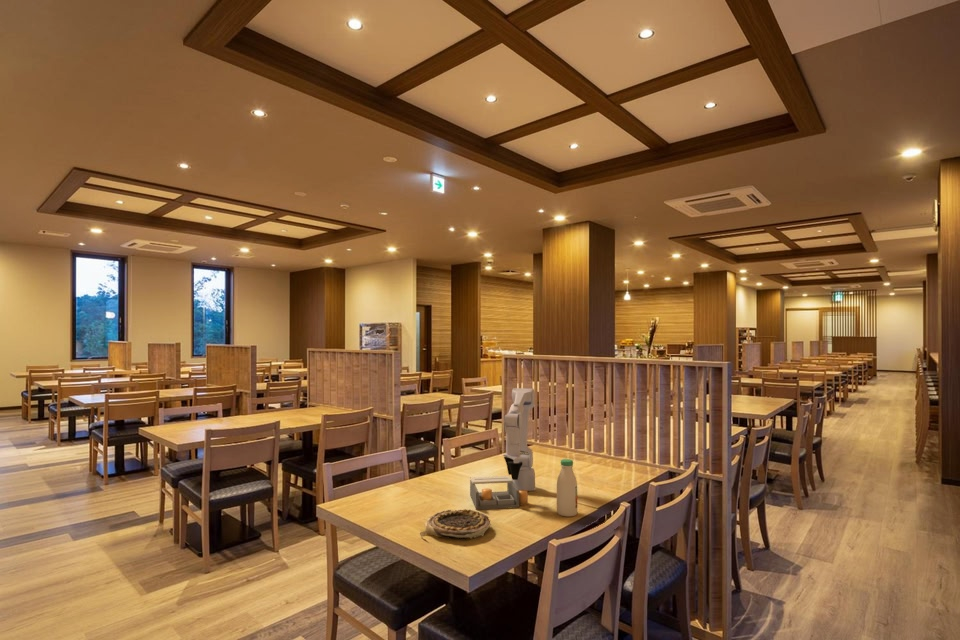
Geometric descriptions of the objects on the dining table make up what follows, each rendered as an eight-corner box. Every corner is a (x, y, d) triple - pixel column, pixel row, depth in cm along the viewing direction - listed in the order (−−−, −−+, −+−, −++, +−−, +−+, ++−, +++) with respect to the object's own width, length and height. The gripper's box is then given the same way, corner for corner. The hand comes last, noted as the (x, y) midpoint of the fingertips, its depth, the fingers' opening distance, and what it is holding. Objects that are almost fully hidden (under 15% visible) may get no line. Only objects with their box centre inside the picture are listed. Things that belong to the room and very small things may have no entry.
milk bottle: (572, 518, 184) (572, 463, 184) (553, 514, 188) (553, 460, 189) (580, 512, 190) (580, 459, 191) (561, 508, 194) (561, 456, 195)
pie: (478, 513, 190) (478, 500, 191) (515, 540, 166) (515, 525, 166) (407, 525, 178) (408, 511, 178) (436, 556, 153) (437, 540, 154)
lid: (509, 477, 214) (509, 475, 214) (512, 482, 206) (512, 480, 206) (470, 479, 211) (470, 477, 211) (472, 484, 204) (472, 481, 204)
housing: (509, 493, 213) (509, 477, 214) (519, 507, 195) (519, 490, 196) (470, 495, 211) (470, 479, 211) (476, 509, 193) (476, 492, 193)
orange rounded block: (526, 501, 203) (526, 489, 203) (528, 505, 199) (528, 492, 199) (516, 502, 202) (516, 489, 202) (518, 505, 198) (518, 492, 198)
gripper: (500, 439, 210) (500, 472, 209) (506, 447, 196) (506, 482, 195) (516, 439, 211) (516, 472, 210) (524, 446, 197) (524, 481, 196)
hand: (512, 476), depth 203 cm, fingers open, 7 cm apart
